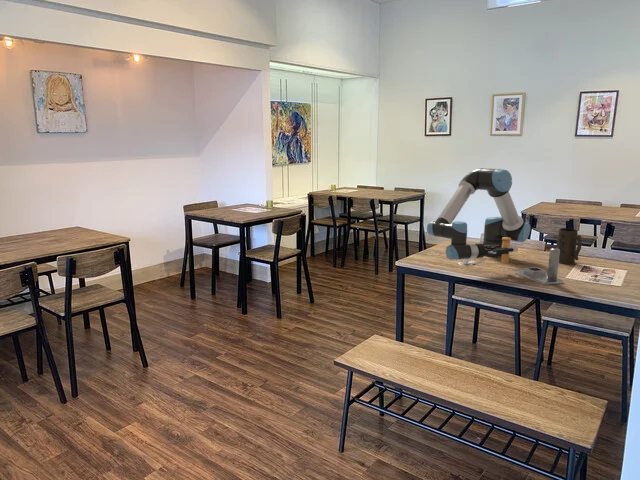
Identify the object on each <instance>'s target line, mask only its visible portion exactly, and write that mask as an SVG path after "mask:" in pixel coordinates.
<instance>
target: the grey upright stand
mask: <svg viewBox="0 0 640 480" xmlns="http://www.w3.org/2000/svg"><path fill="white" fill-rule="evenodd" d="M559 255H560V249H557V248H556V247H554V248H553V247H551V248H549V255H548V256H549V257H548V264H547V270H545V269H543V268H540V267H538V266H531V267H524V268H523V269H520V270H518V269H517V270H514V274H517V275H519V276H521V277H523V278H525V279H528V280H531V281H533V282H535V283H537V284H539V285H542V286H546V285H548V286H549V285H560V284H564V283H565V280H563V279H560V278H558V272H559V265H560V263H559Z"/></svg>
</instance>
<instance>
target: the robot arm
mask: <svg viewBox="0 0 640 480" xmlns="http://www.w3.org/2000/svg"><path fill="white" fill-rule="evenodd" d="M512 185H513V176H512V174H511V172H510V171H508V170H507V169H502V168H483V167H481V168H480V167H479V168H475V169H474V170H472V171H470V172H469V173H467V174H466V175H465V176H464V177H462V179H461V180H460V182H459V183H458V188H457V190H456V191H455V192H454V194H453V195H452V197H451V198H450V200H449V201H448V203H447V204H446V205H445V207H444V208H443V210H442V211H441V213H440V215H439V216H438V217H437V219H436V220H435V221H434V220H432V221H430V222H428V224H427V226H426V232H427V234H428V235H430V236H433V237H438V238H443V239H449V240H450V241H451V242H450V245H447V246H446V248H445V256H446V258H447V259H448V260H451V261H453V260H456V261H457V260H463V259H469V260H471V259H480V258H484V257H485V256H487V257H494V258H495V257H497V258H498V257H500V258H501V257H502V254H509V255H510V253H514V252H515V253H517V252H519V245H518V246H517V245H516V246H514V245H513V244H510V247H506V248H502V244H503V240H502V238H503V237H509V238H511V241H512V242H518V243H524V242H526V241H527V240H528V238H529V236H530V232H531V224H530V223H528V222H527V221H526V222H525V221H524V219H523V217H522V216H520V215H519V214H518V211H517V208H516V205H515V204H514V201H513V198H512V195H511V193H510V190H511V188H512ZM478 190H480V191H486V192H487V194H488V195H489V196H490V197H491V198H493V200H494V202H495V205H496V207H497V209H498V212H499V214H500V216H491V217H486V218H485V221H484V225H483V226H484V227H483V229H484V230H483V242H482V243H480V242H479V243H467V238H468V223H467V222H465V221H459V220H458V221H457V220H456V221H455V218H456V217H457V216H458V214H459V213H460V212H461V210H462V209H463V208H464V205H465V204H466V202H467V201H468V200H469V198H470V197H471V195H474V194H475V192H476V191H478ZM511 241H510V242H511Z"/></svg>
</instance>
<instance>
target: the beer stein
mask: <svg viewBox="0 0 640 480" xmlns="http://www.w3.org/2000/svg"><path fill="white" fill-rule="evenodd" d="M582 246H583V245H582V235H580V234H579V233H578V230H577V229H575V228H574V229H573V228H565V227H562V228H559V230H558V235H557V239H556V247H555V248H557V249H560V255H559V264H562V265H573V264H575V263H576V261H579V254H580V252H581V250H582Z"/></svg>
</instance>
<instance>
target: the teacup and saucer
mask: <svg viewBox="0 0 640 480" xmlns="http://www.w3.org/2000/svg"><path fill="white" fill-rule="evenodd" d="M469 260H470V259H462V261H460V262H457V263H458V265H460V266H465V267H466V266H468V267H469V266H473V265H474V264H475V263H476V261H474V260H470V261H469ZM461 263H462V264H461Z"/></svg>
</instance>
